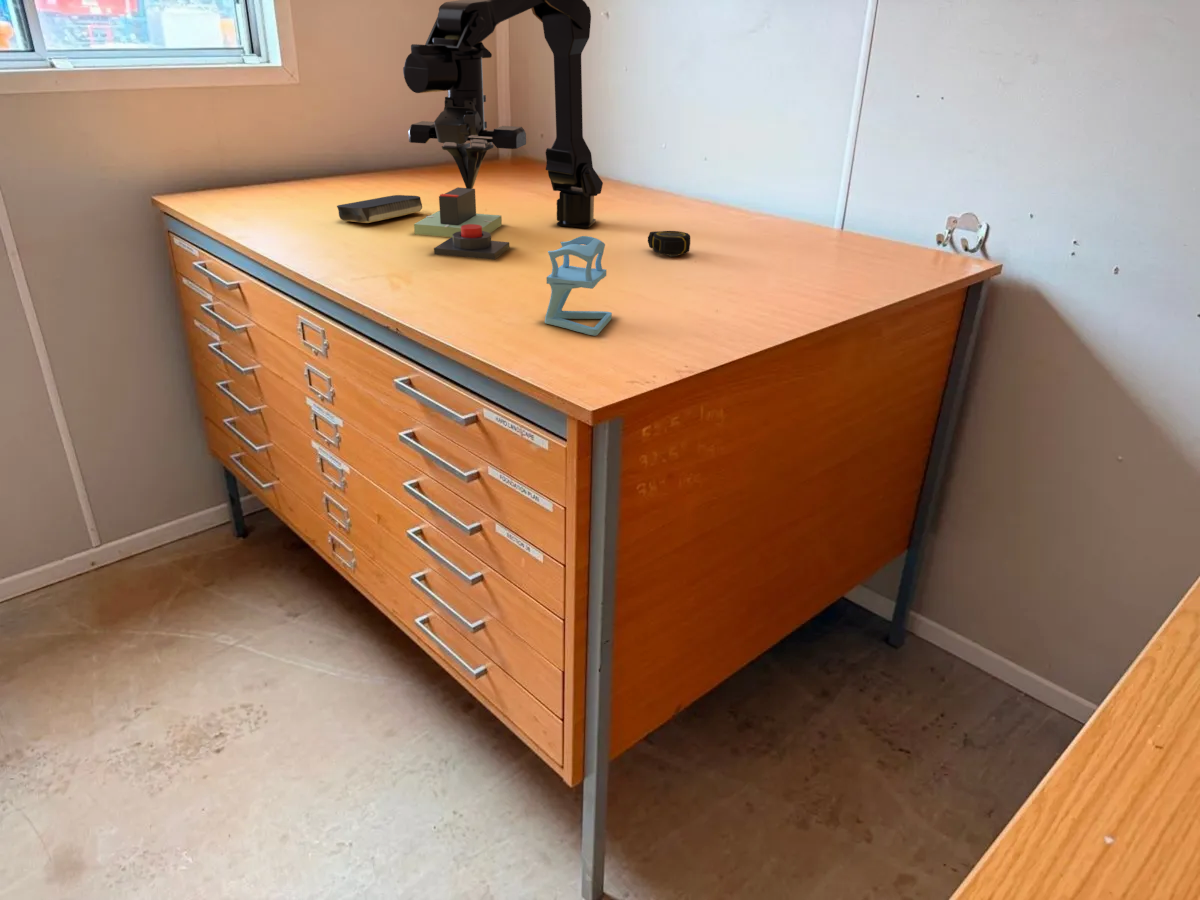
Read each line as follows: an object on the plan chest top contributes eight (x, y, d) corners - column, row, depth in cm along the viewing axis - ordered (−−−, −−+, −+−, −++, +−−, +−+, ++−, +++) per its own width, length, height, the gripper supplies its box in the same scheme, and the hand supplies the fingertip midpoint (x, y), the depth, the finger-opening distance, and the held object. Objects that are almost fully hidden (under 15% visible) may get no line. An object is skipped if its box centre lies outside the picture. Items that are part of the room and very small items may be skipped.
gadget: (459, 213, 170) (457, 185, 167) (476, 214, 169) (475, 187, 167) (440, 223, 162) (438, 194, 160) (458, 225, 161) (456, 196, 159)
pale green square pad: (503, 225, 171) (503, 213, 170) (479, 241, 159) (479, 229, 158) (440, 219, 173) (439, 208, 172) (412, 235, 162) (411, 223, 161)
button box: (509, 248, 155) (509, 231, 154) (494, 260, 148) (494, 242, 147) (451, 243, 157) (450, 227, 156) (434, 254, 150) (433, 237, 149)
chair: (557, 311, 125) (556, 227, 119) (612, 318, 123) (615, 233, 117) (538, 329, 118) (537, 241, 113) (596, 336, 116) (598, 247, 111)
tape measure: (683, 248, 158) (685, 228, 156) (694, 258, 152) (695, 237, 150) (647, 249, 157) (647, 228, 155) (655, 259, 151) (657, 238, 149)
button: (485, 235, 153) (484, 225, 152) (477, 239, 150) (477, 229, 149) (465, 233, 153) (465, 223, 153) (458, 238, 150) (457, 228, 150)
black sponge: (363, 228, 165) (361, 209, 164) (334, 221, 170) (332, 202, 168) (427, 214, 177) (425, 196, 175) (398, 208, 182) (397, 190, 180)
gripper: (389, 91, 135) (398, 193, 143) (503, 97, 132) (506, 201, 139) (419, 85, 145) (425, 181, 152) (526, 90, 141) (527, 188, 149)
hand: (469, 188), depth 148 cm, fingers closed
